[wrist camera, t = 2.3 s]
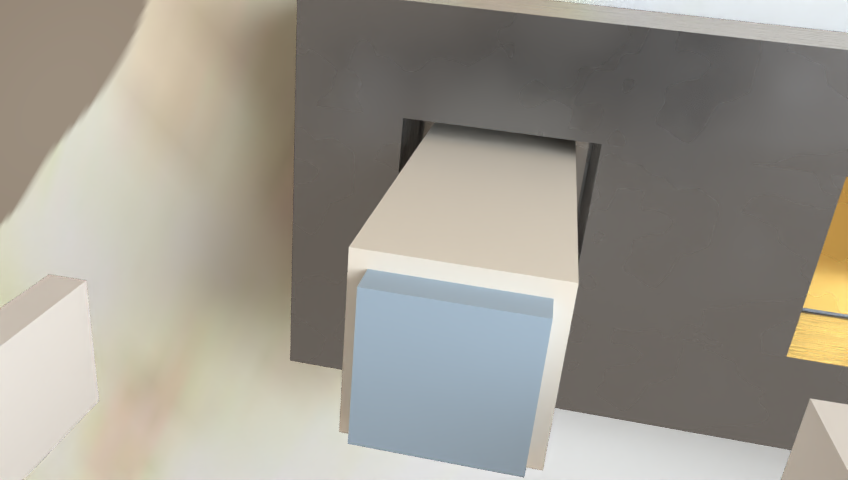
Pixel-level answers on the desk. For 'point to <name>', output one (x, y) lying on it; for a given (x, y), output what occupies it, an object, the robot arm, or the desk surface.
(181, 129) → the desk surface
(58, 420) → the robot arm
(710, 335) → the panel block
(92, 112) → the desk surface
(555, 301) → the plug
